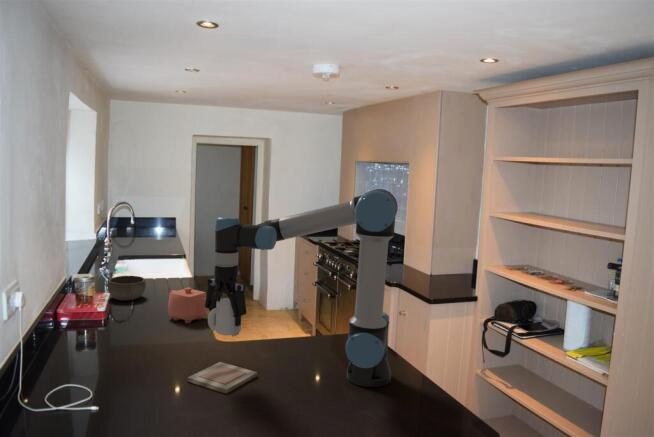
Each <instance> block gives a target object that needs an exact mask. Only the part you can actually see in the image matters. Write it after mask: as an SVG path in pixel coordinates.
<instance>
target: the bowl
mask: <svg viewBox="0 0 654 437" xmlns="http://www.w3.org/2000/svg"><path fill="white" fill-rule="evenodd" d="M146 284H147V283H146V278H144V277H142V276H138V275H120V276H115V277H111V278H109V279H108V282H107V288H108V293H109V294H110V296H111V297H112V298H113V299H115V300H118V301H123V302H125V301H127V302H128V301H133V300H137V299H139V298H140V297H142V296H143V294H144V293H145V291H146Z"/></svg>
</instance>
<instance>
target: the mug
mask: <svg viewBox="0 0 654 437" xmlns="http://www.w3.org/2000/svg"><path fill="white" fill-rule="evenodd" d="M215 313H216V326H214V325H213V324H212V317H213V315H214V314H215ZM232 316H234V312H233V309H232V306H231V303H230V299H229V297H227V298H225V297H224V298H221V299H220V301H219V302H218V301H217V302H216V308H214V309H213V310H212V311H211V312H210V311H209V314H208V316H207V324H208V327H209V328H210V330H211V329H213V330H214V331H215V332H216V333H217V334H219V335H221V336H232ZM241 331H242V324H241V325H240V326H239V333H241Z"/></svg>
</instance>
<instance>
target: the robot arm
mask: <svg viewBox="0 0 654 437" xmlns="http://www.w3.org/2000/svg"><path fill="white" fill-rule="evenodd" d="M398 210H399V209H398V201H397V199H396V197H395V196H394V195H393V193H391V192H390V191H389V190H386V189H384V188H383V189H382V188H377V189H376V188H375V189H373V190H372V189H371V190H369V191H366V192H365V193H364V194H362V195H358V196H354V197H353V198H352V199H351V200H350V201H347V202H346V201H345V202H342V203H338V204H333V205H330V206H325V207H321V208H317V209H313V210H308V211H303V212H300V213H296V214H292V215H288V216H283V217H280V218H275V219H269V220H265V221H264V222H261V223H257V224H244V223H243V224H242V223H241V222H240V219H239V217H237V216H219V217H217V218H216V221H215V230H214V233H215V234H214V235H215V237H214V238H215V239H214V243H215V244H214V246H215V247H214V248H215V249H214V264H215V265H214V274H213V275H214V276H215V277H213V278H210V279H207V291H206V302H205V308H208V311H209V313H210V312H211V311H212V310H213V309H214V308H216V302H217V301H218V302H219V301H220V299H222V296H223V294H226V296H227V298H229V299H230V303H231V306H232V309H233V312H234V316H232V335H231V337H235V336H238V335H240V332H239V326H240V325H241V326H242V316H244V315H247V307H246V306H247V305H246V304H247V303H246V298H245V297H246V296H245V288H246V286H245V284H244V283H242V284H241V283H238V280H237V278H238V277H239V265H238V264H239V252H240V249H239V248H241V249H254V250H260V251H264V250H265V251H266V250H269V251H272V250H273V249H274V248H275V247H276V243H277V242H281V241H285V240H288V239H293V238H298V237H303V236H307V235H311V234H315V233H319V232H324V231H329V230H334V229H337V228H342V227H347V226H352V225H355V235H356V236H357V237H358V239H359V249H358V250H359V252H358V264H357V265H358V266H357V276H356V277H357V280H356V293H355V305H354V306H355V307H354V315H353V316H351V317H350V318H349V322H348V324H349V325H348V332H347V334H348V336H347V340H346V343H345V348H344V349H345V355H346V357H347V359H348V360H349V363H348V366H347V368H346V375H345V376H346V379H347V381H348V382H350V383H352V384H354V385H356V386H360V387H365V388H379V387H384V386H386V385H389V383H391V381H392V371H391V368H390V365H389V360H388V346H389V345H388V344H389V342H388V341H389V328H390V316H389V315H388V314H387V313H385V312H384V301H385V300H384V299H385V289H386V287H385V286H386V276H387V274H386V273H387V263H388V250H389V241H390V240H391V239H393V237H395V224H396V215H397V213H398ZM212 324H213V325H214V326H216V313H215V314H214V315H213V317H212ZM210 331H211V332H213V331H215V330H213V329H211V328H210Z"/></svg>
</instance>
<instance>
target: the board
mask: <svg viewBox="0 0 654 437" xmlns="http://www.w3.org/2000/svg"><path fill="white" fill-rule="evenodd" d="M257 377H258V372H257V371H254V370H251V369H247V368H243V367H240V366H236V365H233V364H230V363H226V362H222V361H218V362H217V363H214V364H213V365H211V366H208V367H206V368H205V369H202V370H200V371H197V373H193V374H192V375H190V376H187V383H192V384H195V385H196V386H200V387H204V388H207V389H210V390H212V391H213V390H214V391H216V392H220V393H223V394H229V393H230V392H232V391H234V390H235V389H237V388H239V387H241V386H243V385H245V384H246V383H248V382H249V381H251V380H253V379H255V378H257Z"/></svg>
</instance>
